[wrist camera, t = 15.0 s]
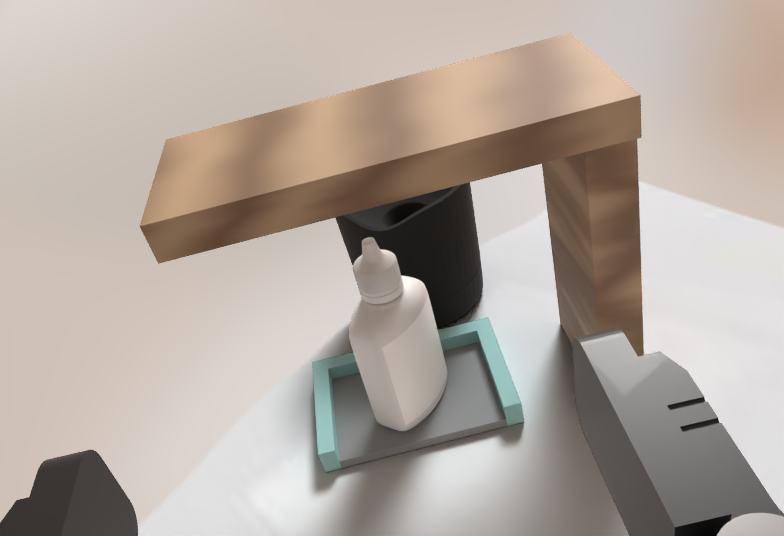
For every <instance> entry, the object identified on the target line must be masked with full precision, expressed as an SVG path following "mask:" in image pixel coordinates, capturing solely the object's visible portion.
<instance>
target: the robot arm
mask: <svg viewBox="0 0 784 536" xmlns="http://www.w3.org/2000/svg"><path fill="white" fill-rule="evenodd" d="M572 349H573V366H574V383H575V400H576V407H577V412H578V416H579V420H580V424H581V427H582V430H583V433H584V435H585V438H586V440H587V442H588V444H589V447H590V449H591V451H592V453H593V455H594V458H595V460H596V462H597V464H598V467H599V469H600V471H601V473H602V475H603V478H604V480H605V482H606V484H607V486H608V489H609V491H610V493H611V495H612V498H613V500H614V502H615V504H616V506H617V509H618V511H619V513H620V515H621V518H622V520H623V522H624V524H625V526H626V529H627V531H628V533H629V535H630V536H784V513H783V512H782V511H781V510H780V509H779V508H778V507H777V506H776V504H775V503H774V502H773V500H772V499H771V497H770V496H769V494H768V493H767V491H766V490H765V488H764V487H763V485H762V484H761V482H760V481H759V479H758V478H757V476H756V475H755V473H754V472H753V470H752V469H751V467H750V465H749V464H748V462H747V461H746V459H745V458H744V456H743V455H742V453H741V452H740V450H739V449H738V447H737V446H736V444H735V443H734V441H733V440H732V438H731V437H730V435H729V434H728V432H727V431H726V429H725V428H724V426H723V425H722V423H719V421H718V417H717V416H716V414H715V412H714V411H713V409H712V408H711V406H710V405H709V403H708V402H705V399H704V396H703V394H702V393H701V391H700V390H699V388H698V387H697V385H696V384H695V382H694V381H693V379H692V378H691V376H690V375H689V373H688V372H687V371H686V370H685V369H684V368H682V367H681V366H679V365H678V364H676V363H675V362H674V361H672V360H671V359H669V358H668V357H667V356H665V355H664V354H662V353H661V352H656V353H652V354H647V355H643V356H639V357H638V356H637V354H636V353H635V351H634V349H633V348H632V346H631V344H630V343H629V341H628V339H627V337H626V336H625V334H624V333H623V332H622V330H621V329H619V328H615V329H611V330H606V331H602V332H598V333H594V334H589V335H585V336H581V337H577V338H574V339H573V343H572ZM0 536H138V525H137V519H136V514H135V511H134V508H133V506H132V503H131V502H130V500H129V499H128V497H127V496H126V494H125V493H124V491H123V490H122V488H121V487H120V485H119V484H118V482H117V481H116V479H115V478H114V476H113V475H112V473H111V472H110V470H109V469H108V467H107V466H106V464H105V463H104V461H103V460H102V458H101V457H100V455H99V454H98V453H97V452H96V451H94V450H87V451H83V452H78V453H74V454H70V455H66V456H62V457H57V458H53V459H49V460H46V461H44V462H43V463H42V464H41V465H40V468H39V469H38V472H37V475H36V478H35V481H34V485H33V487H32V490H31V494H30V497H29V498H25V499H20V500H17V501H16V502H15V503H14V505H13V506H12V508H11V509H10V510H9V512H8V513H7V515H6V516H5V517H4V519H3V520H2V521H1V523H0Z"/></svg>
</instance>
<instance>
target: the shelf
mask: <svg viewBox="0 0 784 536" xmlns="http://www.w3.org/2000/svg"><path fill="white" fill-rule="evenodd" d="M637 138H641V101H640V94H639V93H637V92H636V91H635V90H634V89H633V88H632V87H630V85H629V84H627V83H626V82H625V81H624V80H623V79H622V78H621V77H620V76H618V75H617V74H616V73H615V72H614V71H613V70H612V69H611V68H610V67H608V66H607V65H606V64H605V63H604V62H603V61H602V60H601V59H599V58H598V57H597V56H596V55H595V54H594V53H593V52H592V51H590V50H589V49H588V48H587V47H586V46H585V45H584V44H583V43H581V42H580V41H579V40H578V39H577V38H576V37H575V36H574V35H573V34H571V33H568V34H564V35H561V36H557V37H553V38H549V39H545V40H541V41H538V42H534V43H530V44H526V45H522V46H519V47H515V48H511V49H507V50H503V51H500V52H496V53H493V54H489V55H485V56H481V57H477V58H473V59H470V60H466V61H462V62H458V63H454V64H451V65H447V66H443V67H439V68H435V69H432V70H428V71H424V72H421V73H417V74H413V75H409V76H405V77H401V78H398V79H394V80H390V81H386V82H382V83H379V84H375V85H371V86H367V87H364V88H360V89H356V90H352V91H348V92H345V93H341V94H337V95H334V96H330V97H326V98H322V99H318V100H315V101H311V102H307V103H303V104H299V105H295V106H292V107H288V108H284V109H280V110H277V111H273V112H269V113H265V114H261V115H258V116H254V117H250V118H246V119H243V120H239V121H235V122H231V123H228V124H224V125H220V126H216V127H213V128H209V129H205V130H201V131H197V132H193V133H190V134H186V135H182V136H178V137H175V138H171V139H167V140H166V141H165V145H164V148H163V152H162V155H161V159H160V161H159V165H158V168H157V171H156V174H155V178H154V181H153V185H152V188H151V191H150V194H149V198H148V201H147V204H146V207H145V211H144V214H143V217H142V221H141V224H140V228H141V230H142V232H143V234H144V236H145V237H146V240H147V242H148V243H149V246H150V248H151V250H152V252H153V254H154V256H155V258H156V260H157V262H158V263H162V262H166V261H169V260H174V259H177V258H181V257H185V256H189V255H193V254H197V253H201V252H204V251H208V250H212V249H216V248H220V247H223V246H227V245H231V244H235V243H239V242H243V241H246V240H250V239H254V238H258V237H261V236H266V235H269V234H273V233H277V232H281V231H285V230H289V229H292V228H296V227H300V226H304V225H308V224H312V223H315V222H319V221H323V220H327V219H331V218H335V217H338V216H342V215H346V214H350V213H354V212H358V211H361V210H365V209H369V208H373V207H377V206H381V205H384V204H388V203H392V202H396V201H400V200H404V199H407V198H411V197H415V196H419V195H423V194H427V193H430V192H434V191H438V190H442V189H446V188H449V187H453V186H457V185H461V184H465V183H469V182H472V181H476V180H480V179H484V178H488V177H492V176H495V175H499V174H503V173H507V172H511V171H515V170H518V169H522V168H526V167H530V166H534V165H538V164H541V163H542V167H543V176H544V184H545V193H546V201H547V211H548V219H549V228H550V237H551V245H552V254H553V263H554V271H555V280H556V289H557V297H558V306H559V315H560V323H561V325H562V327H563V329H564V331H565V333H566V335H567V337H568V338H569V340H570V342H571V344H572V343H573V339H574V338H577V337H581V336H585V335H589V334H594V333H598V332H602V331H606V330H611V329H615V328H619V329H621V330H622V332H623V333H624V334H625V336H626V337H627V339H628V341H629V343H630V344H631V346H632V348H633V349H634V351H635V353H636V354H637V356H638V357H639V356H643V355H644V351H643V318H642V285H641V252H640V219H639V186H638V155H637Z"/></svg>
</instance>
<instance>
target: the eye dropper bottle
mask: <svg viewBox="0 0 784 536" xmlns="http://www.w3.org/2000/svg"><path fill="white" fill-rule="evenodd" d="M353 272H354V275H355V278H356V282H357V285H358V288H359V291H360V294H361V299H360V301H359V302H358V304H357V306H356V308H355V310H354V313H353V315H352V318H351V322H350V326H349V339H350V343H351V346H352V349H353V353H354V356H355V359H356V362H357V365H358V368H359V371H360V374H361V377H362V380H363V383H364V386H365V389H366V392H367V395H368V398H369V401H370V404H371V407H372V410H373V412H374V415H375V418H376V421H377V422H378V423H379V424H381V425H383V426H386V427H389V428H392V429H394V430H398V431H407V430H410V429H411V428H413V427H415V426H416V425H417V424H419V423H420V422H421V421H422V420H423V419H425V418H426V417H427V416H428V415H429V414H430V413H431V412H432V410H433V409H434V408H435V407H436V405H437V404H438V402H439V400H440V399H441V397H442V394H443V392H444V389H445V386H446V382H447V367H446V363H445V359H444V355H443V351H442V347H441V342H440V338H439V334H438V330H437V326H436V322H435V318H434V314H433V310H432V306H431V303H430V299H429V295H428V292H427V289H426V287H425V285H424V283H423V282H422V281H420V280H418V279H416V278H412V277H408V276H401V273H400V270H399V266H398V262H397V258H396V256H395V254H394V253H392V252H390V251H388V250H382V249H379V247H378V245H377V243H376V241H375V239H374V238H372V237H368V238H365V239H364V240H362V255H361V256H360V257H358V258H357V259H356V261H355V262H354V264H353Z"/></svg>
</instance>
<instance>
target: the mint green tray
mask: <svg viewBox="0 0 784 536" xmlns="http://www.w3.org/2000/svg"><path fill="white" fill-rule="evenodd" d="M438 334H439V338H440V342H441V347H442V351H443V355H444V359H445V363H446V367H447V382H446V386H445V389H444V392H443V394H442V397H441V399H440V400H439V402H438V404H437V405H436V407H435V408H434V409H433V410H432V412H431V413H430V414H429V415H428V416H427V417H426V418H425V419H423V420H422V421H421V422H420V423H419V424H417V425H416V426H415V427H413V428H411V429H410V430H407V431H398V430H394V429H392V428H389V427H386V426H383V425H381V424H379V423H378V422H377V421H376V418H375V415H374V412H373V410H372V407H371V404H370V401H369V398H368V395H367V392H366V389H365V386H364V383H363V380H362V377H361V374H360V371H359V368H358V365H357V362H356V359H355V356H354V353H353V352H351V353H347V354H343V355H339V356H335V357H332V358H328V359H324V360H320V361H316V362H312V363H313V380H314V397H315V414H316V431H317V448H318V456H319V459H320V461H321V463H322V466H323V468H324V470H325V472H329V471H333V470H337V469H341V468H344V467H348V466H352V465H356V464H360V463H364V462H368V461H372V460H376V459H380V458H384V457H388V456H392V455H396V454H399V453H403V452H407V451H411V450H415V449H419V448H423V447H427V446H431V445H435V444H439V443H443V442H447V441H451V440H455V439H458V438H462V437H466V436H470V435H474V434H478V433H482V432H486V431H490V430H494V429H498V428H502V427H506V426H510V425H514V424H517V423H521V422H524V417H523V411H522V405H521V401H520V399H519V396H518V393H517V391H516V388H515V386H514V383H513V380H512V378H511V375H510V373H509V370H508V368H507V365H506V362H505V360H504V357H503V355H502V352H501V349H500V347H499V344H498V342H497V339H496V336H495V334H494V331H493V329H492V326H491V323H490V321H489V318H488V317H487V318H483V319H479V320H475V321H472V322H468V323H464V324H460V325H456V326H452V327H448V328H444V329H440V330H438Z"/></svg>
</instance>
